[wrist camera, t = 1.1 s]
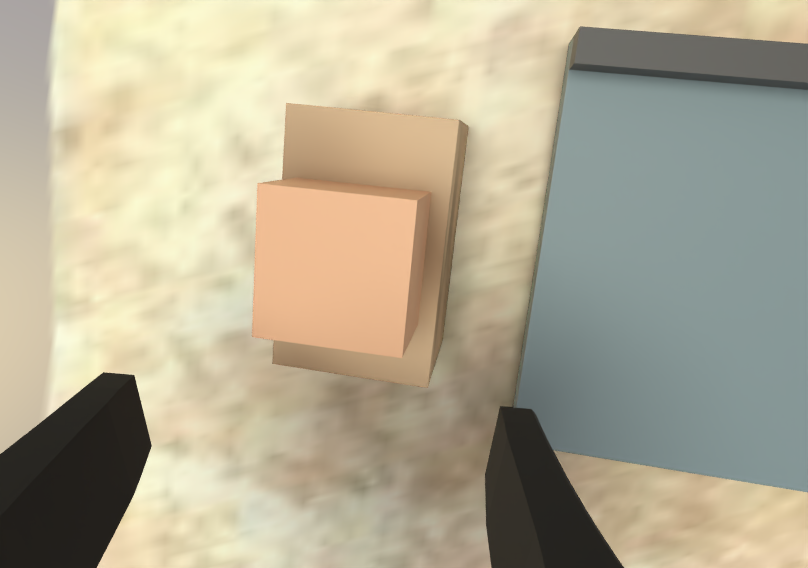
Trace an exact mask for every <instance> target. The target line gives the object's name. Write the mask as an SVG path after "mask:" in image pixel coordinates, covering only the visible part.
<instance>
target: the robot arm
mask: <svg viewBox="0 0 808 568" xmlns="http://www.w3.org/2000/svg"><path fill="white" fill-rule="evenodd" d="M151 446H152V445H151V441H150V437H149V433H148V429H147V425H146V421H145V417H144V413H143V409H142V405H141V401H140V397H139V393H138V389H137V385H136V380H135V376H134V375H127V374H115V373H104V372H103V373H102V374H101V375H100V376H98V377H97V378H96V379H94V380H93V381H92V382H91V383H89V384H88V385H87V386H86V387H84V388H83V389H82V390H81V391H79V392H78V393H77V394H76V395H74V396H73V397H72V398H71V399H69V400H68V401H67V402H66V403H65V404H63V405H62V406H61V407H60V408H58V409H57V410H56V411H55V412H53V413H52V414H51V415H50V416H48V417H47V418H46V419H45V420H43V421H42V422H41V423H40V424H38V425H37V426H36V427H35V428H33V429H32V430H31V431H29V432H28V433H27V434H26V435H24V436H23V437H22V438H20V439H19V440H18V441H17V442H15V443H14V444H13V445H11V446H10V447H9V448H8V449H6V450H5V451H4V452H3V453H1V454H0V568H97V566H98V564H99V562H100V560H101V558H102V556H103V554H104V552H105V551H106V549H107V547H108V545H109V543H110V541H111V539H112V537H113V535H114V533H115V531H116V529H117V527H118V525H119V523H120V521H121V519H122V517H123V515H124V513H125V512H126V510H127V508H128V506H129V504H130V502H131V499H132V497H133V495H134V493H135V490H136V488H137V485H138V483H139V480H140V477H141V475H142V472H143V469H144V466H145V463H146V461H147V458H148V455H149V452H150V449H151ZM485 492H486V526H487V535H488V543H489V550H490V558H491V566H492V568H624V567H623V566H622V564H621V563H620V561H619V560H618V558H617V557H616V555H615V554H614V552H613V551H612V549H611V548H610V546H609V545H608V543H607V542H606V540H605V539H604V537H603V536H602V534H601V533H600V531H599V530H598V528H597V526H596V525H595V523H594V522H593V520H592V518H591V517H590V515H589V514H588V512H587V510H586V509H585V507H584V505H583V503H582V502H581V500H580V498H579V497H578V495H577V493H576V492H575V490H574V488H573V486H572V485H571V483H570V481H569V479H568V478H567V476H566V474H565V472H564V470H563V468H562V467H561V465H560V463H559V461H558V459H557V457H556V455H555V453H554V451H553V449H552V447H551V445H550V443H549V441H548V439H547V437H546V435H545V433H544V431H543V429H542V427H541V425H540V422H539V420H538V418H537V416H536V414H535V412H534V411H533V410H532V409H526V408H514V407H503V406H500V409H499V414H498V419H497V423H496V428H495V432H494V437H493V441H492V446H491V450H490V455H489V460H488V464H487V469H486V473H485Z"/></svg>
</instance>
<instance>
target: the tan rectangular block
mask: <svg viewBox="0 0 808 568" xmlns="http://www.w3.org/2000/svg"><path fill="white" fill-rule="evenodd" d="M467 134H468V126H467V125H466V124H464V123H463V122H461V121H460V120H454V119H444V118H434V117H424V116H414V115H403V114H393V113H383V112H373V111H363V110H352V109H342V108H332V107H322V106H312V105H302V104H291V103H286V118H285V137H284V155H283V174H282V180H284V179H291V178H305V179H314V180H324V181H333V182H343V183H352V184H362V185H371V186H381V187H390V188H400V189H409V190H419V191H428V192H431V200H430V210H429V220H428V230H427V240H426V250H425V259H424V269H423V279H422V289H421V299H420V309H419V318H418V326H417V328H416V330H415V332H414V334H413V336H412V338H411V341H410V343H409V345H408V347H407V349H406V351H405V353H404V355H403V358H397V357H390V356H383V355H376V354H368V353H361V352H354V351H347V350H340V349H333V348H326V347H319V346H312V345H305V344H298V343H291V342H284V341H277V340H274V344H273V363H272V364H278V365H284V366H291V367H297V368H303V369H310V370H316V371H323V372H329V373H335V374H342V375H348V376H354V377H361V378H367V379H374V380H380V381H386V382H393V383H399V384H406V385H412V386H418V387H425V388H428V385H429V382H430V379H431V376H432V372H433V369H434V366H435V363H436V359H437V356H438V353H439V350H440V347H441V343H442V340H443V332H444V324H445V316H446V307H447V299H448V291H449V283H450V274H451V266H452V258H453V250H454V241H455V233H456V225H457V217H458V208H459V200H460V192H461V184H462V175H463V167H464V159H465V151H466V142H467Z"/></svg>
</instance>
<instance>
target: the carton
mask: <svg viewBox="0 0 808 568" xmlns="http://www.w3.org/2000/svg"><path fill="white" fill-rule="evenodd" d="M430 200H431V192H428V191H419V190H409V189H400V188H390V187H381V186H371V185H362V184H352V183H343V182H333V181H324V180H314V179H305V178H291V179H284V180H277V181H270V182H263V183H258V185H257V213H256V241H255V270H254V298H253V326H252V337H256V338H263V339H270V340H277V341H284V342H291V343H298V344H305V345H312V346H319V347H326V348H333V349H340V350H347V351H354V352H361V353H368V354H376V355H383V356H390V357H397V358H403V355H404V353H405V351H406V349H407V347H408V345H409V343H410V341H411V338H412V336H413V334H414V332H415V330H416V328H417V326H418V318H419V309H420V299H421V289H422V279H423V269H424V259H425V250H426V240H427V230H428V220H429V210H430Z"/></svg>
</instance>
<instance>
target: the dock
mask: <svg viewBox="0 0 808 568" xmlns="http://www.w3.org/2000/svg"><path fill="white" fill-rule="evenodd" d="M513 407H514V408H526V409H532V410H533V411H534V412H535V414H536V416H537V418H538V420H539V422H540V425H541V427H542V429H543V431H544V433H545V435H546V437H547V439H548V441H549V443H550V445H551V447H552V449H553V450H555V451H562V452H568V453H574V454H580V455H586V456H592V457H598V458H604V459H610V460H616V461H622V462H628V463H634V464H640V465H646V466H652V467H658V468H664V469H670V470H676V471H682V472H688V473H695V474H701V475H707V476H713V477H719V478H725V479H731V480H737V481H743V482H749V483H755V484H761V485H767V486H773V487H779V488H785V489H791V490H797V491H803V492H808V44H803V43H790V42H777V41H763V40H750V39H737V38H724V37H711V36H698V35H685V34H672V33H658V32H645V31H632V30H619V29H606V28H593V27H580V28H579V29H578V31H577V32H576V34H575V35H574V37H573V39H572V40H571V42H570V43H569V47H568V54H567V60H566V67H565V73H564V80H563V86H562V93H561V99H560V106H559V112H558V119H557V125H556V132H555V138H554V145H553V151H552V158H551V164H550V171H549V177H548V184H547V190H546V197H545V203H544V210H543V216H542V223H541V229H540V236H539V242H538V249H537V255H536V262H535V268H534V275H533V281H532V288H531V294H530V301H529V307H528V314H527V320H526V327H525V333H524V340H523V346H522V353H521V359H520V366H519V372H518V379H517V385H516V392H515V398H514V405H513Z"/></svg>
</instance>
